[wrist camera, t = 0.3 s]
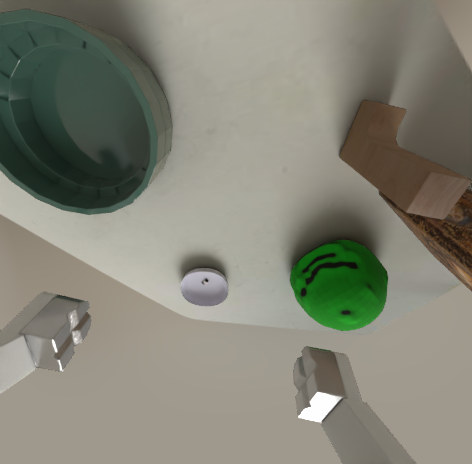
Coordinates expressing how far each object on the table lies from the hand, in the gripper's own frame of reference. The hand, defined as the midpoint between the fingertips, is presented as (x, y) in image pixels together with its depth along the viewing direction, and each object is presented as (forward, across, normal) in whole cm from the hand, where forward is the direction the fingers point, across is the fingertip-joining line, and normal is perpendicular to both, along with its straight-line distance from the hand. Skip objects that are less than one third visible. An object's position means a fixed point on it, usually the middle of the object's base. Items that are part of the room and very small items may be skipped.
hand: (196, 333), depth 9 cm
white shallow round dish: (+26, +1, +22) cm, 34 cm away
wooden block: (+27, -14, -6) cm, 31 cm away
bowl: (+25, +17, 0) cm, 30 cm away
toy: (+27, -18, +15) cm, 36 cm away
